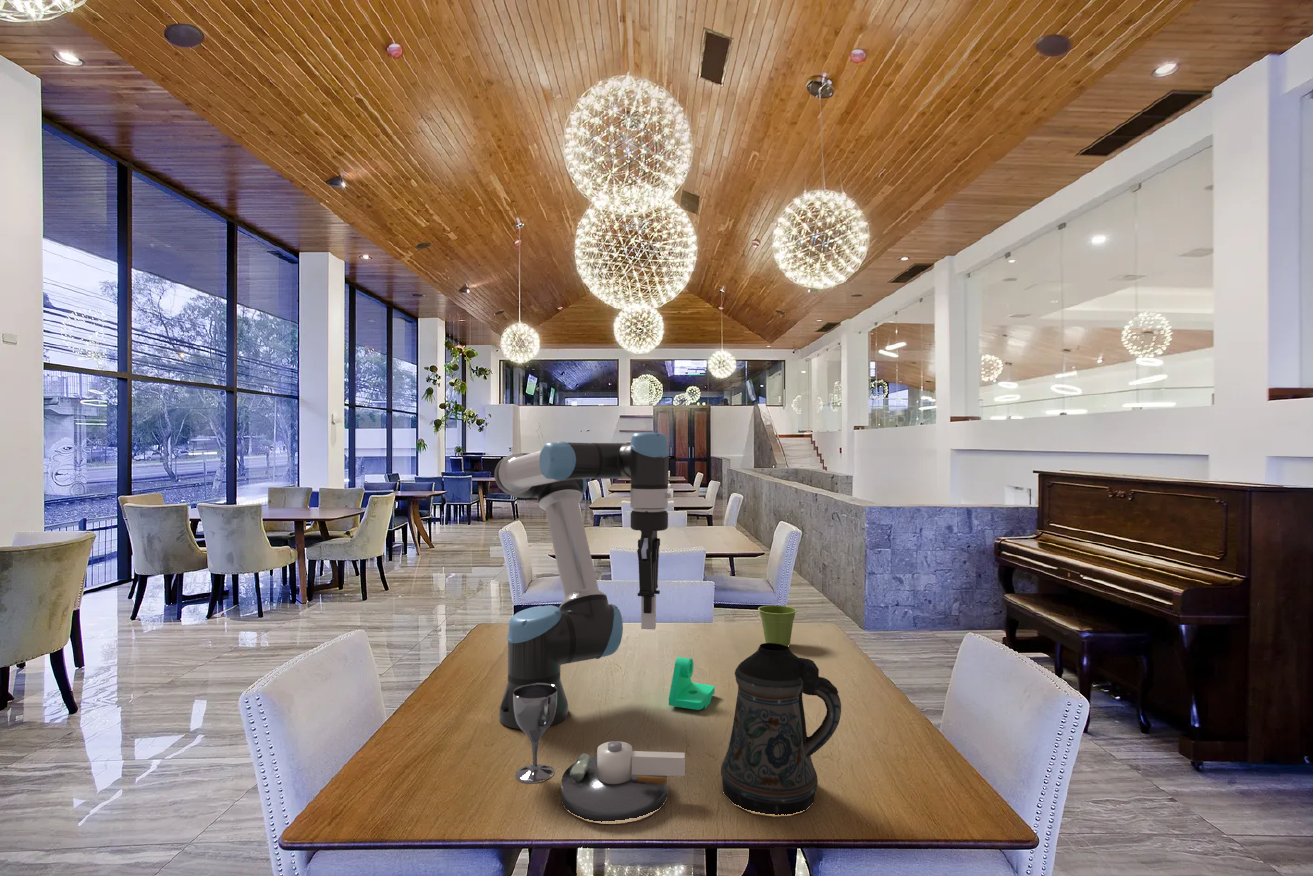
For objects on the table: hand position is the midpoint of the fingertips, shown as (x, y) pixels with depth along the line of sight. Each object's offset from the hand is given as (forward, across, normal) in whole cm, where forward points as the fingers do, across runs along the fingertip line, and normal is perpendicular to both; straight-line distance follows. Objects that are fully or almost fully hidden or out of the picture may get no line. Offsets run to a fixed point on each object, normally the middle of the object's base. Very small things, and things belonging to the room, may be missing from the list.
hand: (648, 628), depth 127 cm
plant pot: (+24, +75, -28) cm, 84 cm away
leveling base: (+24, -18, +3) cm, 30 cm away
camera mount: (+24, +25, -6) cm, 36 cm away
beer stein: (+24, -13, -25) cm, 37 cm away
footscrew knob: (+20, -18, -2) cm, 27 cm away
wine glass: (+24, -13, +19) cm, 33 cm away
